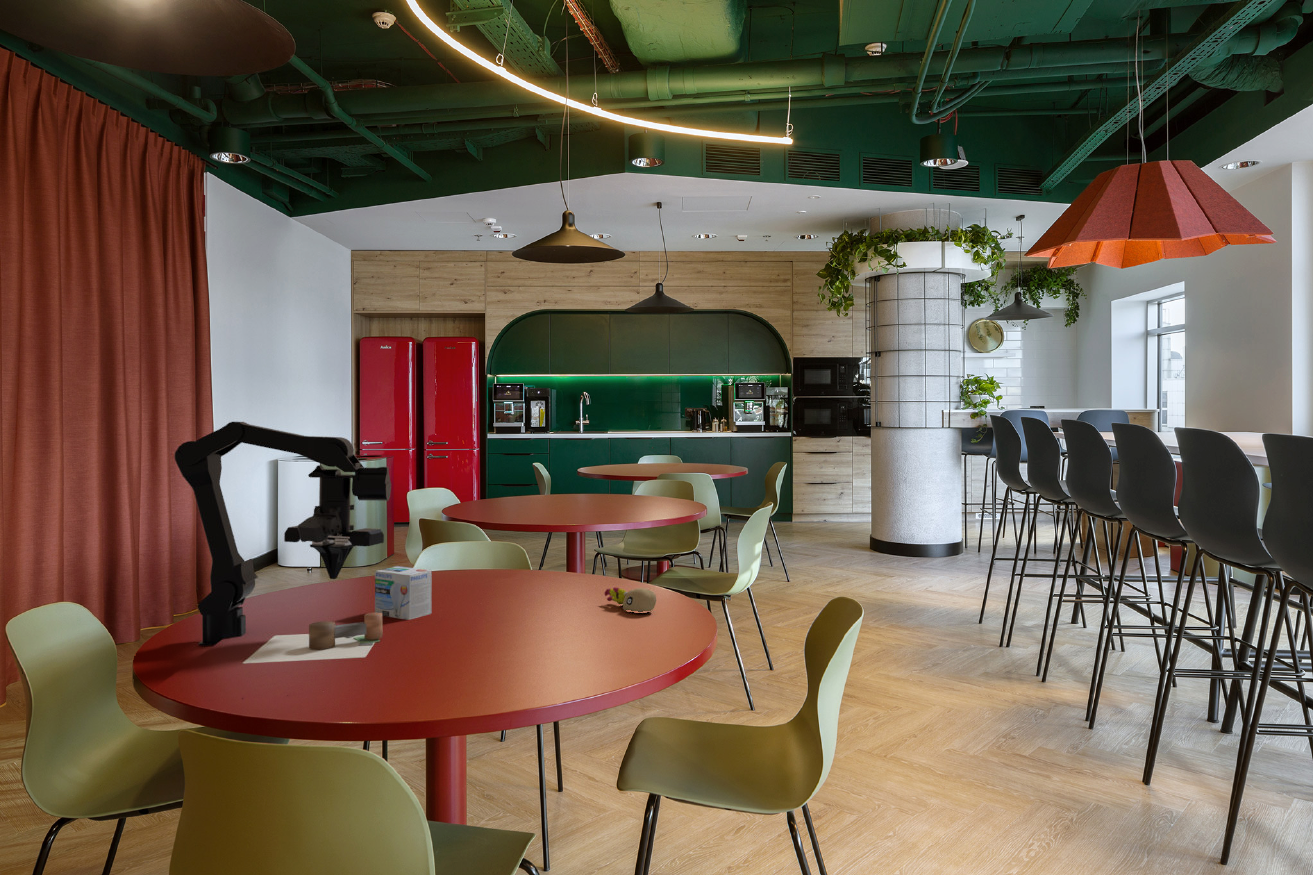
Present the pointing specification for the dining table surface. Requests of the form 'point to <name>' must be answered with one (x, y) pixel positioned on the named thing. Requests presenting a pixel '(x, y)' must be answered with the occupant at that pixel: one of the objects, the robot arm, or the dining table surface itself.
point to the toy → (633, 598)
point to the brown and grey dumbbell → (344, 631)
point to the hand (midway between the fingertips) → (333, 578)
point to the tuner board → (299, 650)
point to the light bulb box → (403, 592)
